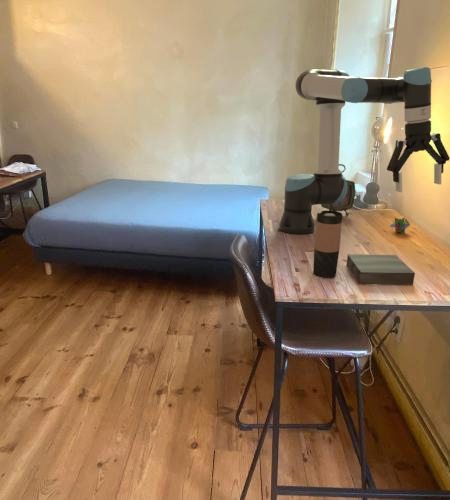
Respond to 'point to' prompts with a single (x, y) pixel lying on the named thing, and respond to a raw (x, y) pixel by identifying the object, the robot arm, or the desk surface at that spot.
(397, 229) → the geometric puzzle
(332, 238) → the travel mug
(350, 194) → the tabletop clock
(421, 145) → the robot arm
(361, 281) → the stand
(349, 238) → the desk surface
